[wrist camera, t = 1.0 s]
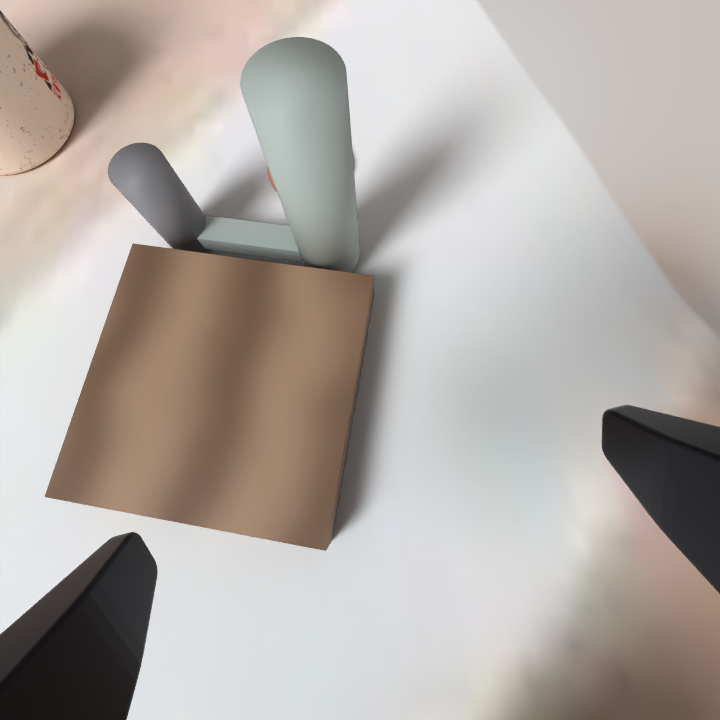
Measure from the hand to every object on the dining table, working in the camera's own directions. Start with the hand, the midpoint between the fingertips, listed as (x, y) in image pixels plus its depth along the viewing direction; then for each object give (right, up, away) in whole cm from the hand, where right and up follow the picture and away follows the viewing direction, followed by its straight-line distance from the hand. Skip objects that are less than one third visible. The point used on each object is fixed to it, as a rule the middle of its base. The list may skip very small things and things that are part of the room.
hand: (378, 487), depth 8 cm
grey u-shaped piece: (-6, +10, +17) cm, 21 cm away
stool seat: (-7, +6, +17) cm, 19 cm away
